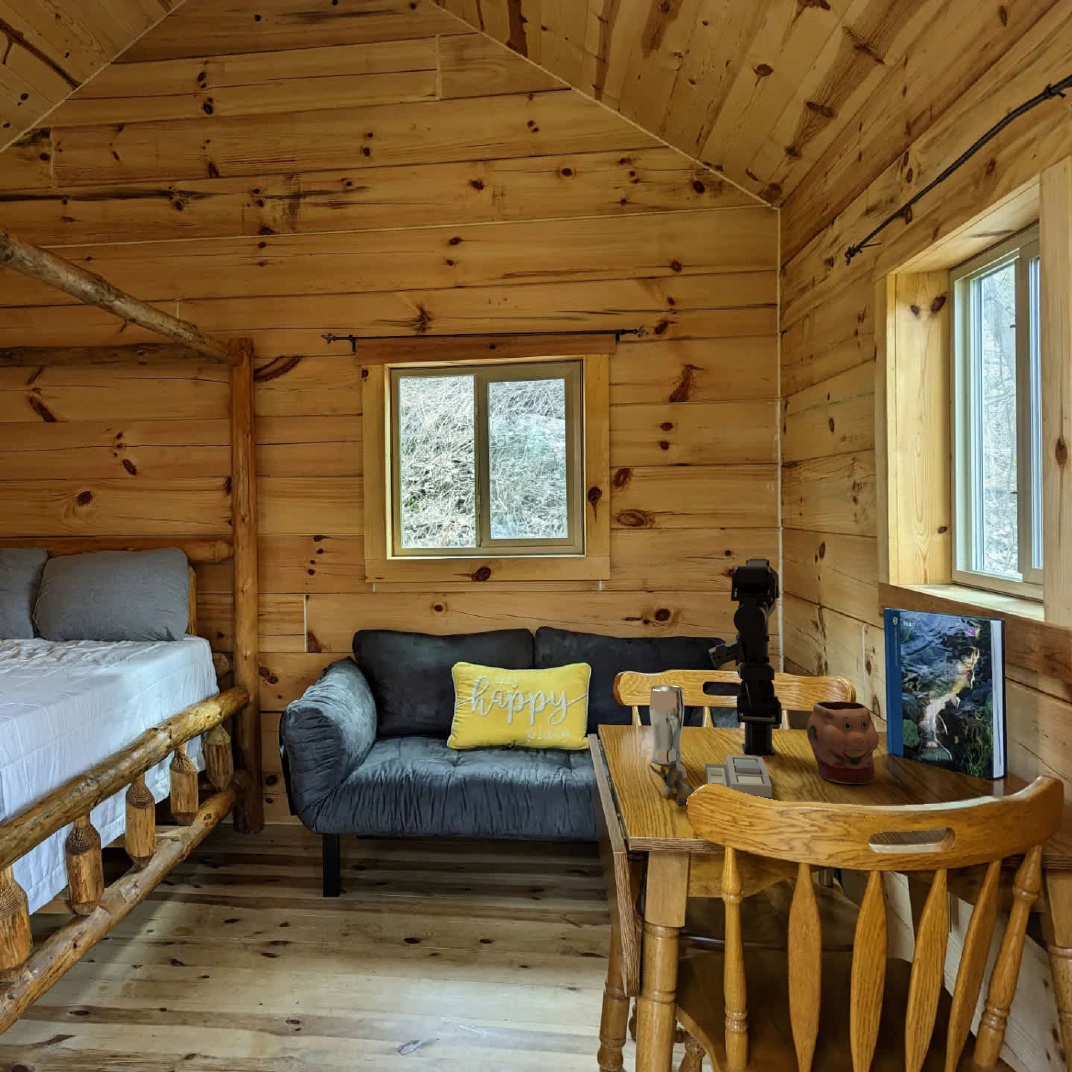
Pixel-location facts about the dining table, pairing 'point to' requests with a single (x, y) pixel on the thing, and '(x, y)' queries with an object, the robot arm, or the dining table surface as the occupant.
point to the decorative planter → (843, 741)
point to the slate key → (747, 767)
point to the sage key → (743, 760)
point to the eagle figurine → (675, 781)
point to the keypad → (730, 777)
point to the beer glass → (666, 723)
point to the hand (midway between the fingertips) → (753, 708)
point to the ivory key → (749, 779)
